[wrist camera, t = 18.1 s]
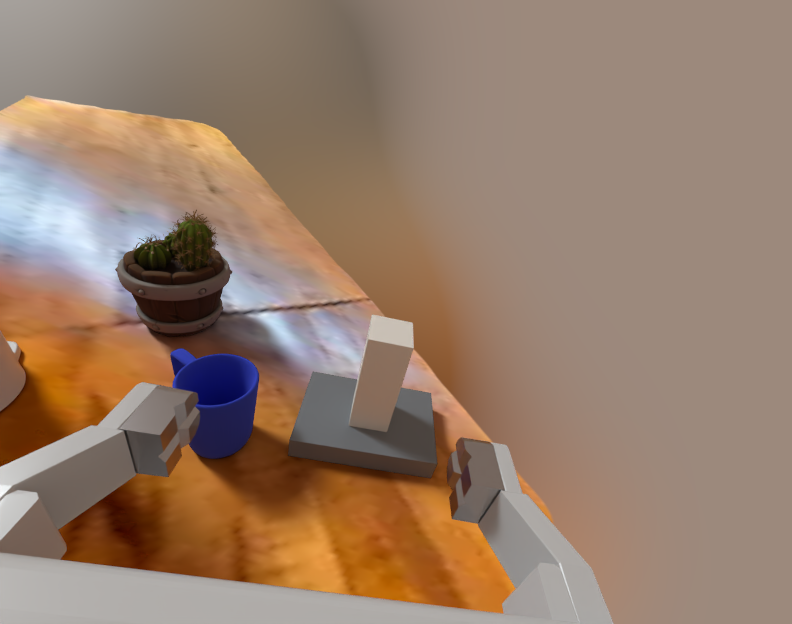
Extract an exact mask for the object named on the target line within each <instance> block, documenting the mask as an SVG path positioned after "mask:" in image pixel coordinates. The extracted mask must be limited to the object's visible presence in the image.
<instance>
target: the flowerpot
mask: <svg viewBox="0 0 792 624" xmlns="http://www.w3.org/2000/svg"><path fill="white" fill-rule="evenodd" d="M196 211H197V210H196ZM196 211H195V213H196ZM186 213H187V212H186ZM193 213H194V211H193ZM195 213H194V215H190V214H189V213H188V214H189V215H190V217H192V216H193V217H194V218H193V217H192V218H191V219H190V217H186V215H187V214H185V216H184V217H185V221H184V222H182V223H178V220H179V219H178V220H177V223H178V224H176V225H178V226H177V227H178V230H176V232H175V231H174V230H173V229H174V226H173V229H172V230H173V232H171V233H173V234H171V233H169V236H166V237H165V236H164V237H165V240H160V239H159V240H158V241H157V239H156V240H155V241H153V240H152V239H151V238H150V239H149V238H148V237H147V238H148V239H149V240H148V239H147V240H148V241H149V243H147V242H148V241H147V242H145V241H144V240H143V241H144V242H145V244H142V243H141V244H142V245H141V246H140V247H139V248H137V249H136V248H135V249H134V250H135V251H134V250H133V251H129V252H127V253H126V254H125V255H124V257H123V259H121V260H120V262H119V264H118V267H117V268H116V269H115V270H116V271H117V273H118V277H119V280H120V282H121V284H122V285H123V287H124V288H125V289H126V290H128V291H129V292H131V293H132V295H133V297H134V299H135V300H136V302H137V306H136V311H137V314H138V315H139V317H140V319H141V320H142V322H143V323H144V324H145V325H146V326H147V327H149V328H151V329H152V330H154V331H155V332H157V333H162V334H163V335H166V336H178V335H181V336H186V335H191V334H195V333H198V332H200V331H202V330H204V329H206V328H208V327H209V325H212V324H213V323H214V322H215V321H216V320H217V319H218V317H219V316H220V313H221V310H223V306H222V301H221V299H220V297H221V294H222V290H223V287H224V286H225V285H226V284H227V283H228V281H229V278H230V274H231V273H232V271H231V270H230V267H229V264H228V262H227V261H226V260H225V259H224V258H223V257H222V256H221V254H220V253H219V252H218V251H217V250H215V249H213V248H212V247H213V246H214V248H215V244H216V243H215V241H214V239H213V241H214V242H212V236H213V234H216V233H214V232H215V231H214V232H213V231H212V232H211V230H209V229H208V228H209V227H210V226H209V225H208V224H207V223H206V222H209V221H206V220H205V219H206V218H207V217H206V218H205V219H204V220H205V222H204V220H203V221H202V222H201V220H202V219H203V218H200V217H199V216H201V215H203V214H201V215H199V216H197V218H196V217H195ZM184 217H183V218H184ZM186 218H187V219H186ZM195 218H196V219H195ZM198 218H199V219H198ZM183 220H184V219H183ZM174 223H175V222H174ZM204 223H206V224H207V226H208V227H207V226H206V225H205V224H204ZM209 224H211V223H209ZM176 225H175V227H176ZM211 227H212V226H211ZM215 228H216V227H215ZM215 228H214V229H215ZM170 229H171V228H170ZM210 229H211V228H210ZM214 229H213V230H214ZM151 236H152V235H151ZM155 238H156V236H155ZM213 238H214V237H213ZM215 238H216V237H215ZM139 239H140V238H139ZM145 239H146V238H145ZM141 240H142V239H141ZM150 240H151V241H152V242H151V241H150ZM216 242H217V241H216ZM139 243H140V242H139ZM139 243H138V244H139ZM214 243H215V244H214ZM138 244H137V245H138ZM137 245H136V247H137ZM217 245H218V244H217Z"/></svg>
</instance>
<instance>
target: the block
mask: <svg viewBox="0 0 792 624" xmlns="http://www.w3.org/2000/svg"><path fill="white" fill-rule="evenodd" d="M413 348H414V346H413V323H411V322H406V321H401V320H396V319H391V318H386V317H382V316H377V315H372V317H371V322H370V326H369V330H368V335H367V339H366V344H365V348H364V353H363V357H362V362H361V366H360V370H359V375H358V379H357V384H356V388H355V393H354V397H353V403H352V409H351V414H350V420H349V426H353V427H359V428H365V429H371V430H377V431H383V432H387V430H388V427H389V424H390V421H391V417H392V414H393V411H394V408H395V405H396V402H397V399H398V395H399V392H400V389H401V386H402V383H403V380H404V377H405V373H406V370H407V367H408V364H409V361H410V358H411V355H412V352H413Z"/></svg>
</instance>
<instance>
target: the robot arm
mask: <svg viewBox="0 0 792 624" xmlns="http://www.w3.org/2000/svg"><path fill="white" fill-rule="evenodd" d="M20 354H21V349H20V348H19V346H18V344H17V343H15V342H10V341H6V339H5V338H4V336H3V334H2V333H1V331H0V411H1V410H2V409H4V408H5V407H6V406H8V405H9V404H10V403H11V402H12V401H13V400H14V399H15V398H16V397H17V396H18V394H19V393H20V392H21V390H22V389H23V387H24V384H25V381H26V374H25V371H24V369H23V368H22V367H21V365H20V364H19V361H18V360H19V357H20ZM198 401H199V400H198V394H197V393H196V392H191V391H186V390H181V389H176V388H171V387H166V386H161V385H155V384H150V383H144V382H142V383H140V384H138V385H136V386H135V387H134V388H133V389H132V390H131V391H130V392H129V393H128V394H127V395H126V396H125V397H124V398H123V400H122V401H121V402H120V403H119V404H118V405H117V406H116V407H115V408H114V409H113V410H112V411H111V412H110V413H109V414H108V415H107V416H106V417H105V418H104V419H103V420H102V421H101V422H100V424H99V425H98V426H92V425H91V426H89V427H87V428H84V429H82V430H80V431H78V432H76V433H73V434H71V435H69V436H67V437H65V438H63V439H60V440H58V441H56V442H54V443H52V444H49V445H47V446H45V447H43V448H41V449H38V450H36V451H34V452H32V453H30V454H28V455H25V456H23V457H21V458H19V459H17V460H14V461H12V462H10V463H8V464H6V465H3V466H1V467H0V624H613V621H612V618H611V616H610V613H609V611H608V609H607V606H606V603H605V601H604V598H603V596H602V594H601V591H600V588H599V586H598V583H597V581H596V578H595V576H594V573H593V571H592V569H591V567H590V566H589V565H588V564H587V563H586V562H585V560H583V558H582V557H581V556H580V555H579V554H578V552H577V551H576V550H575V549H574V548H573V547H572V545H571V544H570V543H569V542H568V541H567V540H566V539H565V537H564V536H563V535H562V534H561V533H560V532H559V531H558V529H557V528H556V527H555V526H554V525H553V524H552V523H551V521H550V520H549V519H548V518H547V517H546V516H545V515H544V513H543V512H542V511H541V510H540V509H539V508H538V506H537V505H536V504H535V503H534V502H533V501H532V500H531V498H530V497H529V496H528V495H527V494H523V493H522V490H521V487H520V484H519V481H518V477H517V474H516V471H515V468H514V465H513V461H512V458H511V455H510V451H509V448H508V447H507V446H506V445H503V444H497V443H490V442H487V441H481V440H474V439H468V438H462V437H461V438H460V439H458V441H457V443H456V450H457V451H455V452H453V453H451V456H450V458H449V460H448V466H447V482H448V485H449V486H450V487H451V489H452V490H453V491H452V493H451V495H450V497H449V500H450V508H451V516H452V519H455V520H460V521H466V522H472V523H477V524H478V526H479V528H480V529H481V531H482V533H483V535H484V536H485V538H486V540H487V541H488V543H489V545H490V546H491V548H492V550H493V551H494V553H495V555H496V556H497V558H498V560H499V561H500V563H501V565H502V566H503V568H504V570H505V571H506V573H507V575H508V576H509V578H510V580H511V581H512V583H513V585H514V586H515V588H516V589H515V590H514V591H513V592H512V593H511V594H510V595H509V596H508V598H507V599H506V600H505V601H504V602H503V604H502V606H503V611H504V614H502V613H494V612H486V611H477V610H469V609H461V608H453V607H445V606H437V605H428V604H420V603H412V602H404V601H396V600H387V599H379V598H371V597H363V596H355V595H347V594H338V593H330V592H322V591H314V590H305V589H297V588H289V587H281V586H273V585H264V584H256V583H248V582H240V581H231V580H223V579H215V578H207V577H199V576H190V575H182V574H174V573H166V572H157V571H149V570H141V569H133V568H125V567H116V566H108V565H100V564H92V563H83V562H75V561H67V560H60V559H61V558H62V556H63V555H64V554H65V552H66V551H67V547H66V543H65V541H64V540H63V538H62V536H61V534H60V532H59V531H58V529H60V528H61V527H63V526H64V525H66V524H67V523H68V522H70V521H71V520H73V519H74V518H76V517H77V516H78V515H80V514H81V513H83V512H84V511H86V510H87V509H88V508H90V507H91V506H93V505H94V504H96V503H97V502H98V501H100V500H101V499H103V498H104V497H106V496H107V495H108V494H110V493H111V492H113V491H114V490H116V489H117V488H118V487H120V486H121V485H123V484H124V483H126V482H127V481H128V480H130V479H131V478H133V477H134V476H136V473H139V474H147V475H156V476H164V477H169V475H170V474H171V472H172V471H173V469H174V467H175V466H176V464H177V463H178V461H179V460H180V458H181V457H182V454H181V448H182V447H184V446H186V445H187V444H189V443H190V442H191V441H192V439H193V437H194V436H195V434H196V431H197V429H198V426H199V422H200V411H199V410H198V409H197V408H196V407H195V405H196V404H197V403H198Z"/></svg>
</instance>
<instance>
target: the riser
mask: <svg viewBox="0 0 792 624" xmlns="http://www.w3.org/2000/svg"><path fill="white" fill-rule="evenodd" d="M356 384H357V380H356V379H351V378H345V377H340V376H334V375H329V374H323V373H318V372H313V373H312V376H311V379H310V381H309V384H308V387H307V390H306V393H305V396H304V399H303V402H302V405H301V408H300V411H299V414H298V417H297V420H296V423H295V426H294V429H293V432H292V434H291V437H290V441H289V451H288V456H293V457H300V458H306V459H312V460H318V461H325V462H331V463H337V464H344V465H350V466H356V467H363V468H369V469H375V470H382V471H388V472H394V473H401V474H407V475H413V476H420V477H426V478H431V476H432V474H433V472H434V470H435V468H436V466H437V455H436V444H435V433H434V422H433V410H432V399H431V393H427V392H422V391H416V390H411V389H405V388H401V389H400V392H399V395H398V399H397V402H396V405H395V408H394V411H393V414H392V417H391V421H390V424H389V427H388V430H387V432H383V431H377V430H371V429H365V428H359V427H353V426H349V420H350V414H351V409H352V403H353V397H354V393H355V388H356Z"/></svg>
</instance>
